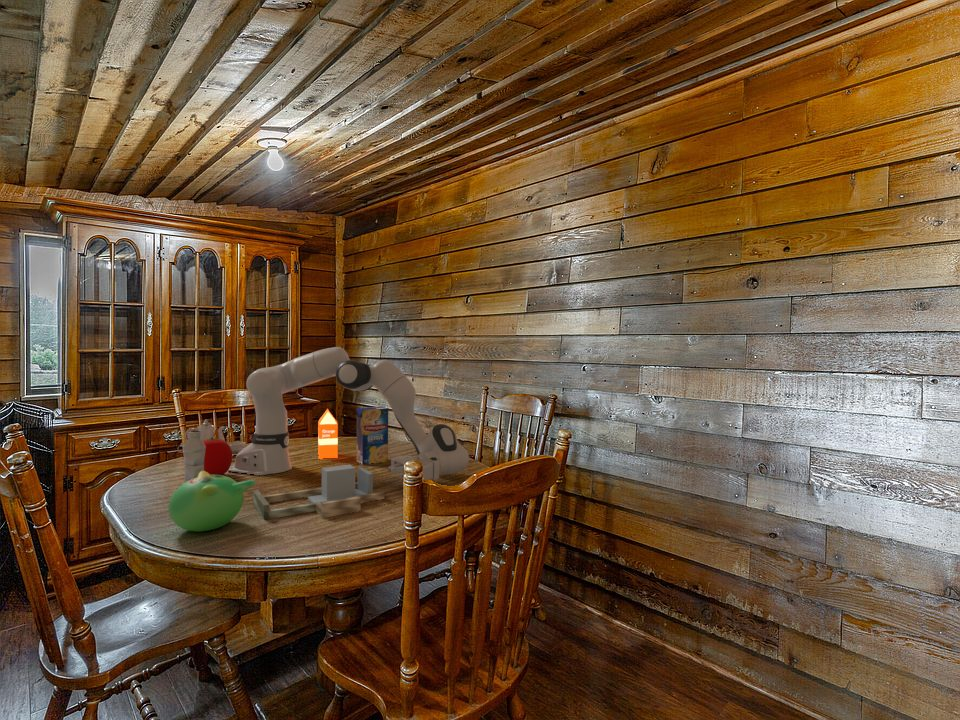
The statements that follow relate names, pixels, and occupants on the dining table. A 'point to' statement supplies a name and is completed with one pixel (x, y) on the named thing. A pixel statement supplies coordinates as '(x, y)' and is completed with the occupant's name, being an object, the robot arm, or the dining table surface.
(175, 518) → the toy bird
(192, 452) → the plastic bottle
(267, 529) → the dining table surface
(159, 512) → the dining table surface
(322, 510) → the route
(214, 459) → the tomato
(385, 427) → the blue food box
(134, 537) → the dining table surface
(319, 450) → the orange juice
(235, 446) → the chinaware
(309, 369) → the robot arm
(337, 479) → the bookend block
